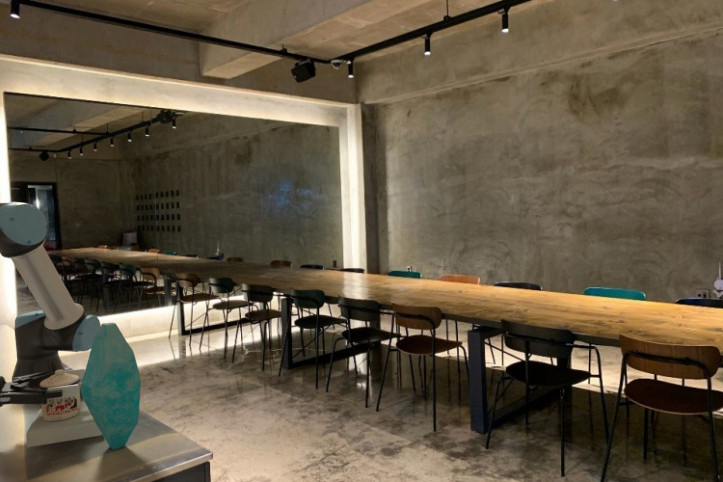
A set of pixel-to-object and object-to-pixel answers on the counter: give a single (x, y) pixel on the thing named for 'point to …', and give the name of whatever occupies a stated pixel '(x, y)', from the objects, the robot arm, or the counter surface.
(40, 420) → the plinth
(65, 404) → the teacup with lid
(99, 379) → the crystal
